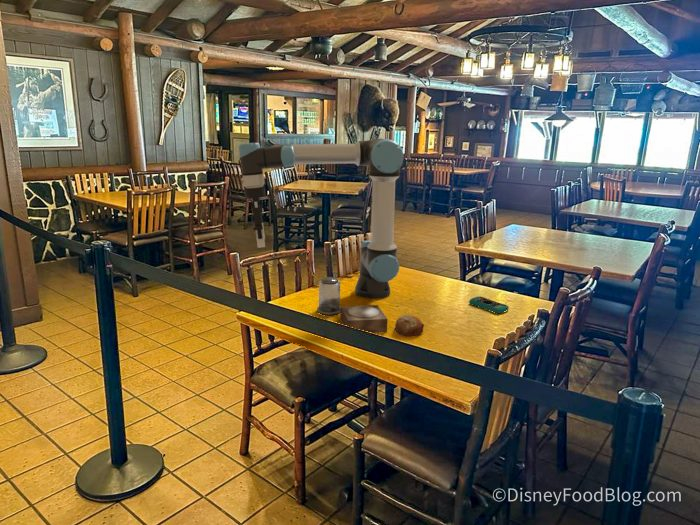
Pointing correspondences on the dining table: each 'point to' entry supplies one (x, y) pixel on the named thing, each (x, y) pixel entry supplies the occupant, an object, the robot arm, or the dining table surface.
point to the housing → (329, 296)
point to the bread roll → (409, 326)
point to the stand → (364, 318)
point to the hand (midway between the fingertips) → (261, 243)
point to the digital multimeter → (488, 304)
